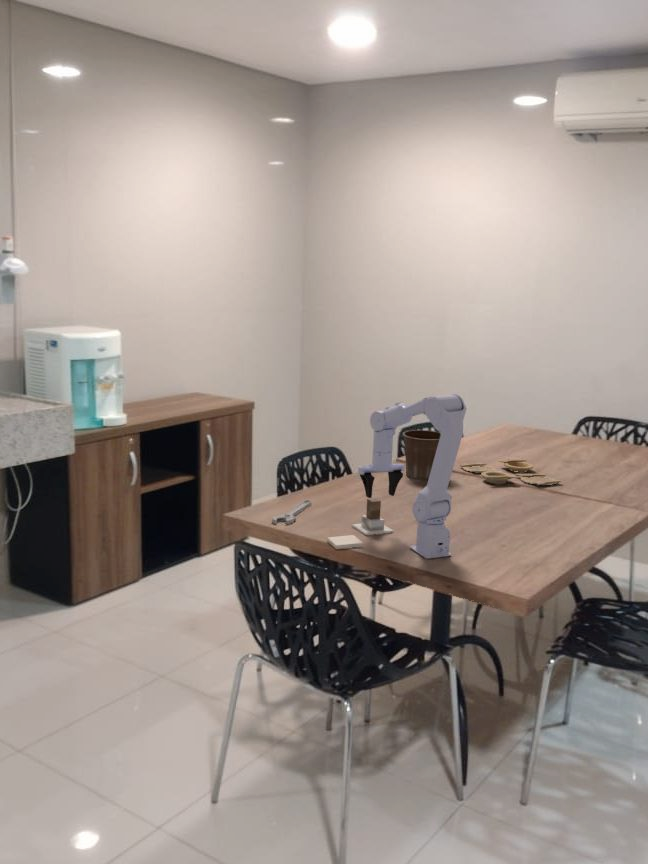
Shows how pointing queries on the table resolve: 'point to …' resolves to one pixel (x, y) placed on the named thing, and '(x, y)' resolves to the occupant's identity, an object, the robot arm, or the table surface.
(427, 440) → the plant pot
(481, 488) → the table surface
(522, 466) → the tableware set
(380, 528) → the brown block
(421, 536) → the robot arm
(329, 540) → the tile
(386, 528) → the mat
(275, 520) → the adjustable wrench
